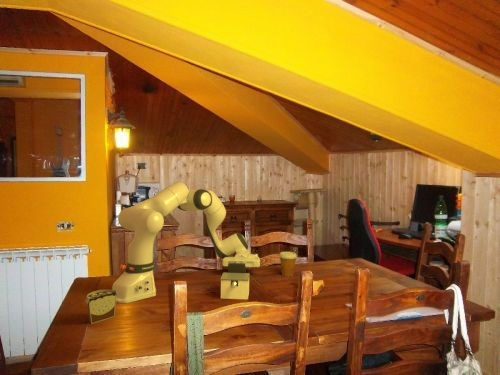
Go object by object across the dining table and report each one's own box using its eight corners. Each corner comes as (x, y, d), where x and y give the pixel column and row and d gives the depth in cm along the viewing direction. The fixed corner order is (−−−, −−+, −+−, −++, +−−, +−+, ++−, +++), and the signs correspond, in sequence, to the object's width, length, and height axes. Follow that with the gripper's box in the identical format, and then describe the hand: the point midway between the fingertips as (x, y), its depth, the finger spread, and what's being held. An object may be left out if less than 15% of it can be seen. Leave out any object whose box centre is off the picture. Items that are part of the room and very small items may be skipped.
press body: (223, 291, 183) (223, 272, 182) (249, 292, 182) (249, 273, 182) (220, 298, 172) (220, 278, 172) (248, 299, 172) (248, 279, 171)
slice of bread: (309, 297, 177) (309, 289, 176) (287, 286, 193) (287, 279, 192) (339, 292, 185) (340, 284, 185) (316, 282, 201) (316, 275, 201)
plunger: (228, 285, 185) (228, 262, 184) (245, 286, 184) (245, 263, 184) (224, 297, 168) (224, 272, 168) (242, 297, 168) (242, 272, 167)
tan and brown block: (109, 311, 155) (109, 287, 154) (117, 315, 151) (117, 290, 150) (79, 320, 145) (78, 294, 145) (87, 325, 141) (87, 298, 141)
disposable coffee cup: (297, 277, 207) (297, 255, 206) (279, 277, 207) (279, 255, 207) (295, 273, 216) (296, 251, 216) (278, 272, 217) (278, 251, 216)
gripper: (223, 253, 215) (220, 259, 202) (260, 254, 214) (259, 260, 201) (223, 264, 216) (220, 271, 202) (260, 265, 215) (259, 272, 201)
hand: (240, 265), depth 201 cm, fingers closed
